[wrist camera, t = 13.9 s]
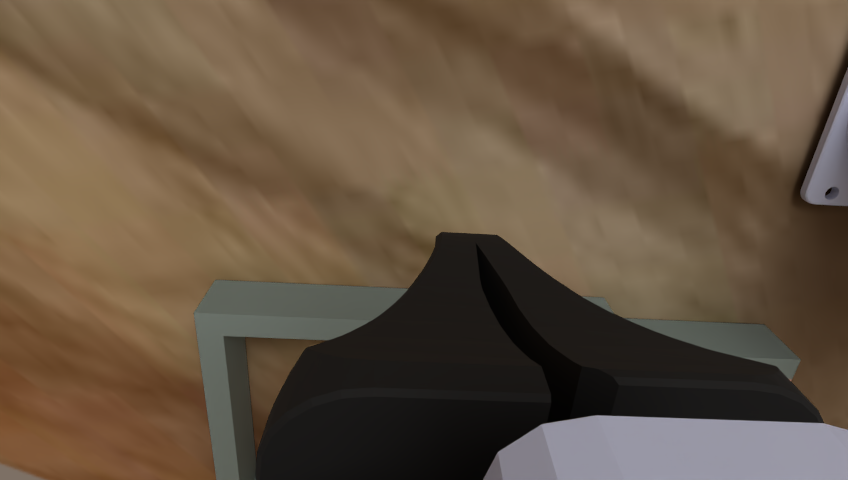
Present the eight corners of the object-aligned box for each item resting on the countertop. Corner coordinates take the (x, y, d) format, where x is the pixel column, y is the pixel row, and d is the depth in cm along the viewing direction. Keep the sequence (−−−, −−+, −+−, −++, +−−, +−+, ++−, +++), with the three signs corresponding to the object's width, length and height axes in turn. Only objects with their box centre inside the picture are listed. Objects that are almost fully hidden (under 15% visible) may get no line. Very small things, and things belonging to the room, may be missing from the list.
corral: (772, 305, 24) (810, 339, 22) (695, 497, 29) (719, 540, 27) (215, 279, 23) (193, 312, 20) (238, 484, 28) (223, 528, 26)
